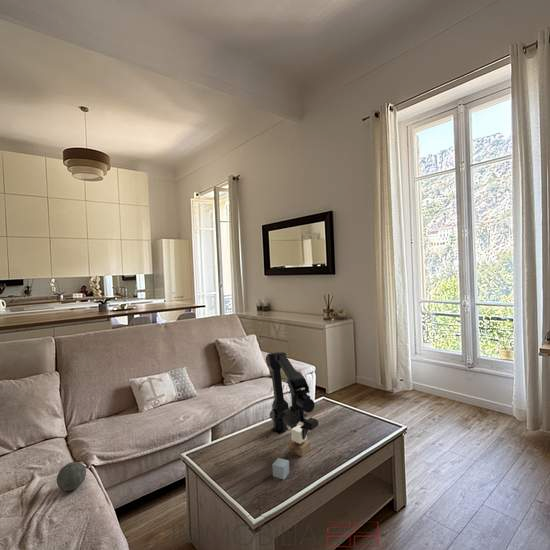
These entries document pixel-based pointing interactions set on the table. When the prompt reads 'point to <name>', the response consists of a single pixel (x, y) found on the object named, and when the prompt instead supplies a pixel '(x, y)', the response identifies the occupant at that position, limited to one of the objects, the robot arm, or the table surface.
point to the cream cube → (297, 434)
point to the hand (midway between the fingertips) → (299, 437)
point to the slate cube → (280, 468)
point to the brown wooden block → (299, 447)
